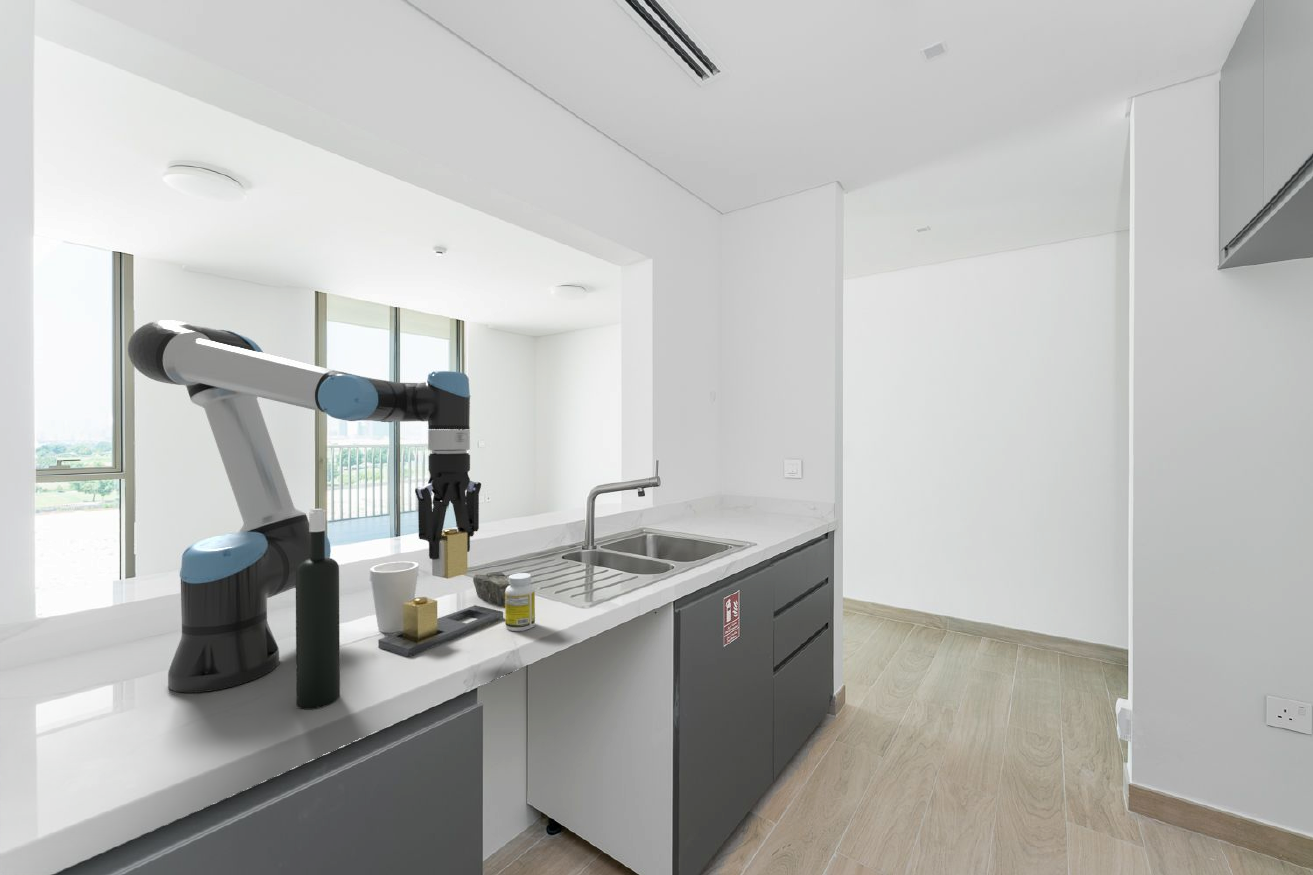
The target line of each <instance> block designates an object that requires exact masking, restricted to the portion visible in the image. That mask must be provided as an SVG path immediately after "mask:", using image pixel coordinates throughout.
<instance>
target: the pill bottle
mask: <svg viewBox="0 0 1313 875" xmlns="http://www.w3.org/2000/svg"><path fill="white" fill-rule="evenodd" d="M508 578H509V584H510V585H509V586H508V587H507V588H506V590H505V606H504V607H505V608H504V610H505V611H504V612H505V613H504V615H505V617H504V618H505V620H504V621H505V622H504V623H505V628H506V629H507V630H509V631H513V632H523V631H527V630H530V629H532V628H534V627H535V622H536V620H535V619H536V617H535V616H536V611H535V610H536V607H535V606H536V605H535V603H536V602H535V600H536V599H535V597H536V594H535V587H534V585H533V584H531V582H532V575H531V574H530V573H527V572H519V573H513V574H510V575H509V576H508Z"/></svg>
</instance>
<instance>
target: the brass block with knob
mask: <svg viewBox="0 0 1313 875" xmlns="http://www.w3.org/2000/svg"><path fill="white" fill-rule="evenodd" d="M437 619H438V600H436V599H432V598H428V597H426V596H420V597H415V599H413V600H412V601H409V602H405V603H403V630H402V631H403V639H406V640H410V641H413V642H416V643H417V642H420V641H422V640H425V639H427V638H430V637H433V636H435V635H437Z"/></svg>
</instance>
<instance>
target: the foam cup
mask: <svg viewBox="0 0 1313 875" xmlns="http://www.w3.org/2000/svg"><path fill="white" fill-rule="evenodd" d="M419 565H420V564H419V563H418V562H415V561H409V560H407V561H392V562H391V561H390V562H385V563H380V564H376V565H374V566H372V567H371V568H369V581H370V584H371V591H372V596H373V604H374V610H375V611H374V612H375V616H376V624H377V628H378V631H379V632H381V633H387V634H388V633H398V632H401V631H403V603H405V602H409V601H412V600H413V599H415V598H416V591H417V584H418V583H417V582H418V577H419V570H420V568H419V567H420V566H419Z"/></svg>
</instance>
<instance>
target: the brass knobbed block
mask: <svg viewBox="0 0 1313 875" xmlns="http://www.w3.org/2000/svg"><path fill="white" fill-rule="evenodd" d="M440 541H443V542H444V560H445V576H443V577H442V578H444V579H451V578H456V577H458V576H459V577H460V576H462V575H467V574H468V570H469V569H468V552H467V532H461V531H458V528H457V529H456V528H447V529H443V531H442V536H441V540H440ZM432 576H435V575H432ZM435 577H436V576H435ZM437 577H439V576H437ZM439 578H440V577H439Z"/></svg>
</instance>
